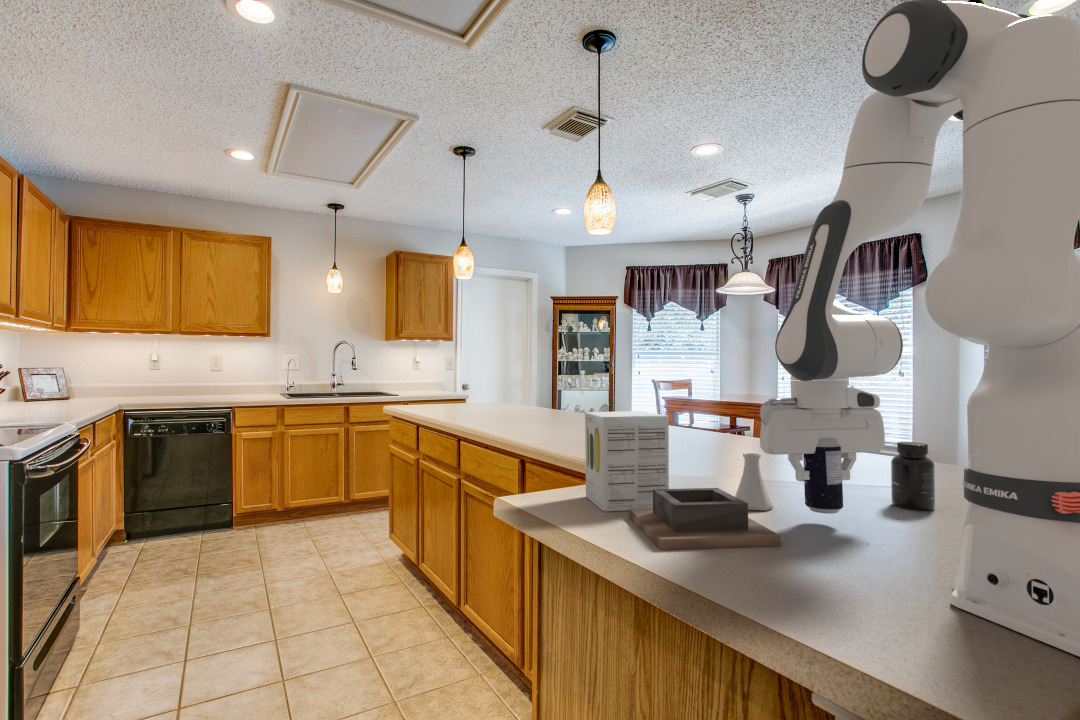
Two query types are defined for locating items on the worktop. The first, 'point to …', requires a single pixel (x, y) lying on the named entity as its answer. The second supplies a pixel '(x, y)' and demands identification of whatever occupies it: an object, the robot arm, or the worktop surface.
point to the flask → (753, 485)
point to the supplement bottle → (913, 477)
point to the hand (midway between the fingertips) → (823, 480)
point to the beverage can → (824, 478)
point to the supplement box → (625, 458)
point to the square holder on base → (700, 521)
